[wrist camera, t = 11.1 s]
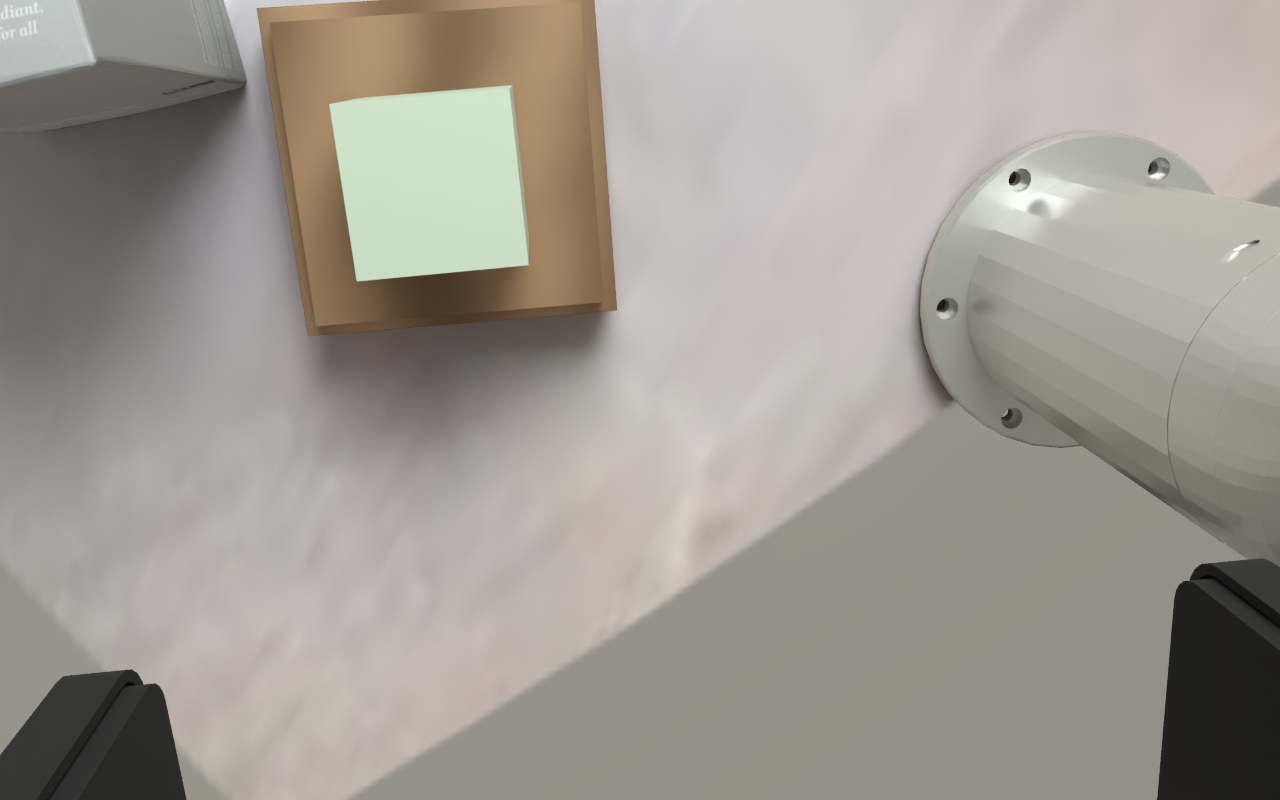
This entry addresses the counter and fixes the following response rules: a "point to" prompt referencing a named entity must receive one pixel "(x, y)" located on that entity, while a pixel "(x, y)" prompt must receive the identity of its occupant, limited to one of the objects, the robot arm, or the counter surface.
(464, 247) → the sage block
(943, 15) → the counter surface
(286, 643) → the counter surface
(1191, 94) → the counter surface
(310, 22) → the walnut pedestal
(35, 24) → the skincare box
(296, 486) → the counter surface
